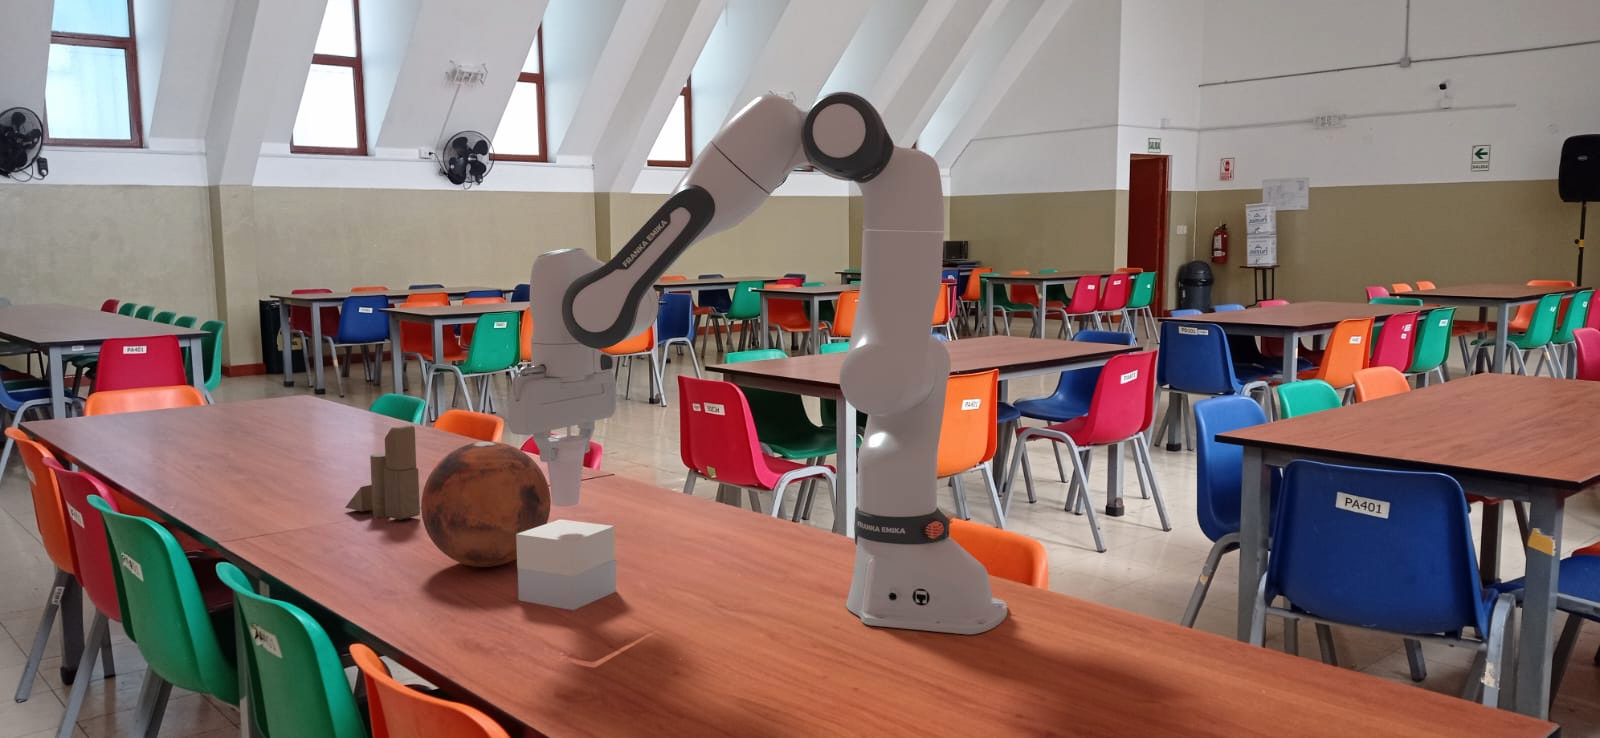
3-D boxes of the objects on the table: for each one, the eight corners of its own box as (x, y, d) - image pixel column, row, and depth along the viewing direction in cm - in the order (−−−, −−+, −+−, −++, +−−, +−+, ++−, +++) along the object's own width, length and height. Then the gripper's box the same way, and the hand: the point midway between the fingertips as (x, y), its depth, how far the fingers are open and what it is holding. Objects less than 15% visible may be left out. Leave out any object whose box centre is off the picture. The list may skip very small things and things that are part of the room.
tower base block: (616, 592, 169) (615, 559, 168) (573, 611, 160) (572, 577, 160) (563, 583, 174) (562, 551, 173) (518, 601, 165) (517, 567, 164)
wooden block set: (425, 519, 215) (421, 425, 213) (399, 525, 210) (395, 429, 208) (370, 507, 224) (366, 417, 222) (345, 513, 220) (340, 421, 218)
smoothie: (578, 509, 162) (577, 412, 160) (535, 506, 163) (534, 410, 161) (594, 499, 168) (593, 406, 167) (553, 497, 169) (552, 404, 168)
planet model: (462, 545, 195) (458, 430, 193) (571, 551, 191) (568, 434, 189) (398, 578, 176) (393, 451, 173) (518, 586, 172) (514, 455, 169)
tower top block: (614, 559, 169) (614, 526, 168) (573, 576, 160) (572, 541, 159) (560, 551, 173) (560, 519, 173) (517, 567, 164) (516, 534, 164)
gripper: (530, 369, 153) (533, 471, 154) (622, 356, 171) (624, 447, 172) (495, 367, 156) (498, 467, 157) (589, 355, 174) (591, 444, 175)
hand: (565, 456), depth 165 cm, fingers closed on smoothie, 6 cm apart
